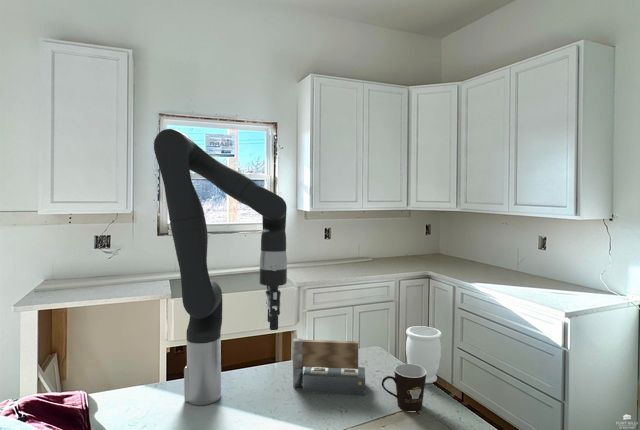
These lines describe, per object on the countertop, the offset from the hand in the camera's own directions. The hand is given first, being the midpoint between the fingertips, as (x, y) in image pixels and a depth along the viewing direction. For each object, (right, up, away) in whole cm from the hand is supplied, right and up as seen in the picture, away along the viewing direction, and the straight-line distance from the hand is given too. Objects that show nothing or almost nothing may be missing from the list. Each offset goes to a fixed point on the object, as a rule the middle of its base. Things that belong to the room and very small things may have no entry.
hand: (272, 325), depth 108 cm
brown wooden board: (+15, -15, +8) cm, 22 cm away
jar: (+46, -21, +15) cm, 52 cm away
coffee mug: (+36, -22, -1) cm, 42 cm away
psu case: (+18, -21, +8) cm, 28 cm away
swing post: (+7, -21, +9) cm, 24 cm away
